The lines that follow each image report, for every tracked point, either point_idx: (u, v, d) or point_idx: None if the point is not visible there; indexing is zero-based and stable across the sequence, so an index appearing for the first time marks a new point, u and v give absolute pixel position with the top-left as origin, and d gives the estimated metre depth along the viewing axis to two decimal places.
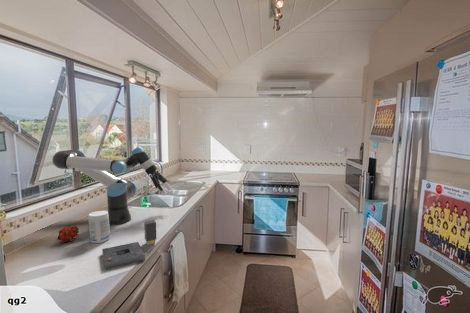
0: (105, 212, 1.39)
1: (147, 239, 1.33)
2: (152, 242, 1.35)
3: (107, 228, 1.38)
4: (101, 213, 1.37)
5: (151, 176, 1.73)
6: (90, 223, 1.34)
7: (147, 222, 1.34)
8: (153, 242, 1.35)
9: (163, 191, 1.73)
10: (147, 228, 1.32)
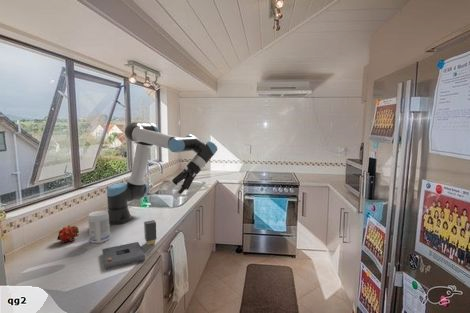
0: (105, 212, 1.39)
1: (147, 239, 1.33)
2: (152, 242, 1.35)
3: (107, 228, 1.38)
4: (101, 213, 1.37)
5: (193, 175, 1.37)
6: (90, 223, 1.34)
7: (147, 222, 1.34)
8: (153, 242, 1.35)
9: (178, 194, 1.34)
10: (147, 228, 1.32)
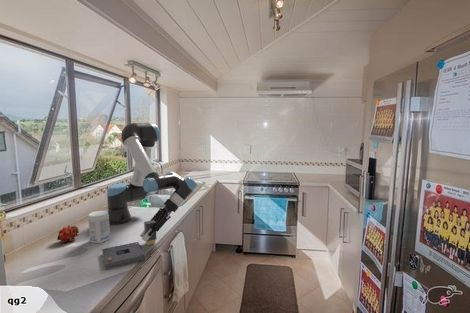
0: (105, 212, 1.39)
1: None
2: (152, 242, 1.35)
3: (107, 228, 1.38)
4: (101, 213, 1.37)
5: (166, 217, 1.33)
6: (90, 223, 1.34)
7: (147, 222, 1.34)
8: (153, 242, 1.35)
9: (147, 237, 1.32)
10: (147, 228, 1.32)
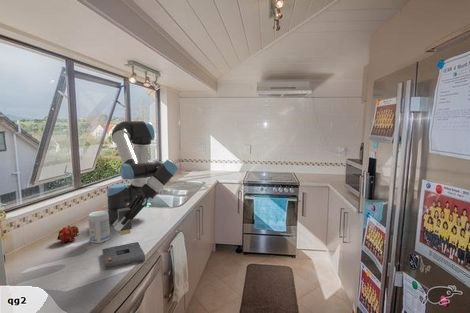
0: (105, 212, 1.39)
1: None
2: (127, 232, 1.19)
3: (107, 228, 1.38)
4: (101, 213, 1.37)
5: (142, 204, 1.17)
6: (90, 223, 1.34)
7: (121, 209, 1.19)
8: (128, 232, 1.20)
9: (120, 226, 1.16)
10: (120, 216, 1.17)
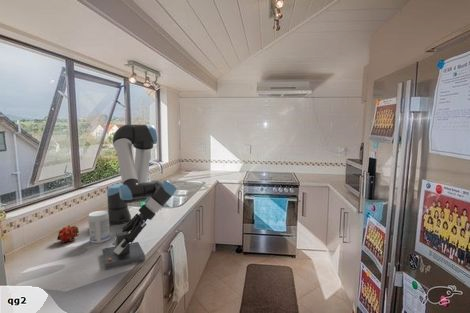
0: (105, 212, 1.39)
1: None
2: None
3: (107, 228, 1.38)
4: (101, 213, 1.37)
5: (141, 225, 1.17)
6: (90, 223, 1.34)
7: (119, 234, 1.19)
8: None
9: (120, 249, 1.15)
10: (119, 241, 1.17)
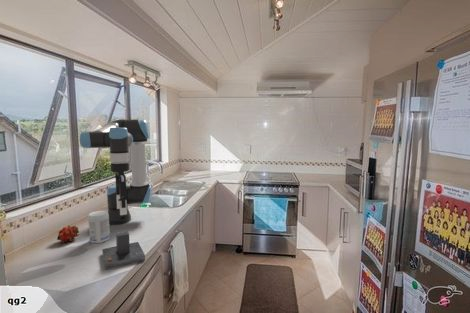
0: (105, 212, 1.39)
1: (119, 253, 1.18)
2: None
3: (107, 228, 1.38)
4: (101, 213, 1.37)
5: (122, 180, 1.11)
6: (90, 223, 1.34)
7: (119, 234, 1.19)
8: None
9: (124, 209, 1.14)
10: (119, 241, 1.17)
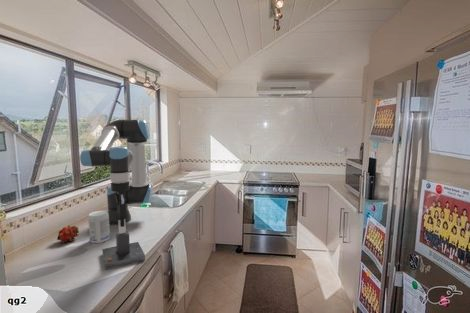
0: (105, 212, 1.39)
1: (119, 253, 1.18)
2: None
3: (107, 228, 1.38)
4: (101, 213, 1.37)
5: (122, 203, 1.13)
6: (90, 223, 1.34)
7: (119, 234, 1.19)
8: None
9: (123, 228, 1.19)
10: (119, 241, 1.17)
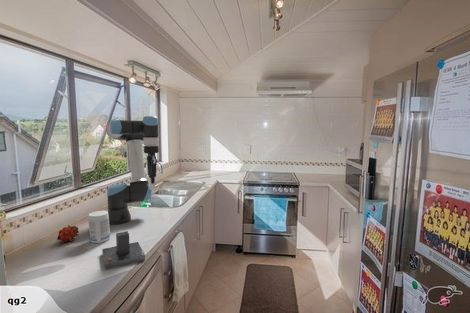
0: (105, 212, 1.39)
1: (119, 253, 1.18)
2: None
3: (107, 228, 1.38)
4: (101, 213, 1.37)
5: (153, 162, 1.36)
6: (90, 223, 1.34)
7: (119, 234, 1.19)
8: None
9: (153, 185, 1.41)
10: (119, 241, 1.17)
